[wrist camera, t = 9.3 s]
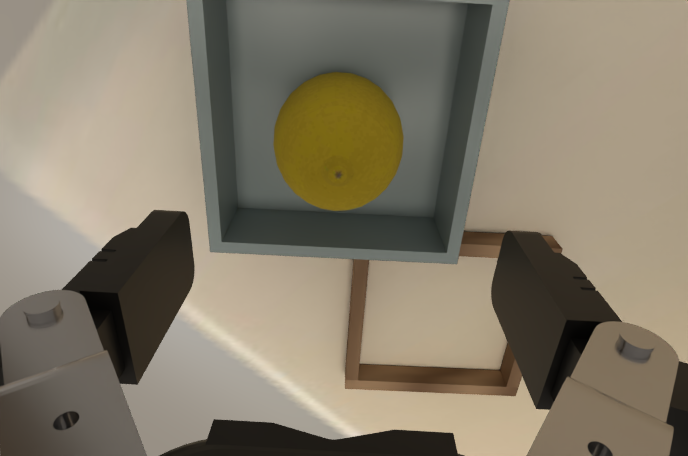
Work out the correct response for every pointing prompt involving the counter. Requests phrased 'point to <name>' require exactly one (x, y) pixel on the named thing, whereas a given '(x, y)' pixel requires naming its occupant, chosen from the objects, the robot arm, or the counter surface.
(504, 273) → the robot arm
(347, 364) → the tray
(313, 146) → the lemon
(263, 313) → the counter surface
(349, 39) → the bin
